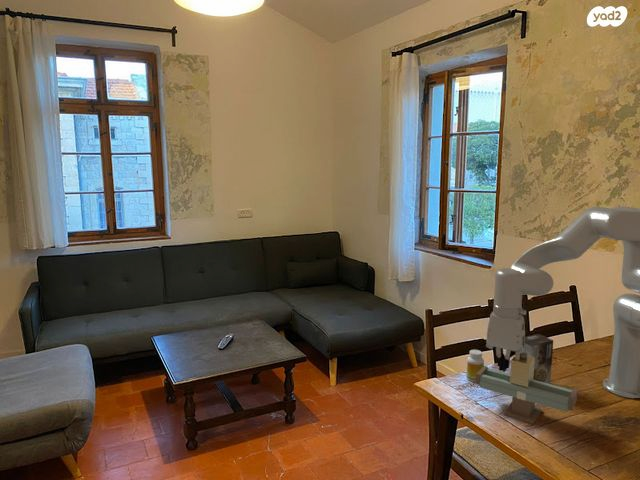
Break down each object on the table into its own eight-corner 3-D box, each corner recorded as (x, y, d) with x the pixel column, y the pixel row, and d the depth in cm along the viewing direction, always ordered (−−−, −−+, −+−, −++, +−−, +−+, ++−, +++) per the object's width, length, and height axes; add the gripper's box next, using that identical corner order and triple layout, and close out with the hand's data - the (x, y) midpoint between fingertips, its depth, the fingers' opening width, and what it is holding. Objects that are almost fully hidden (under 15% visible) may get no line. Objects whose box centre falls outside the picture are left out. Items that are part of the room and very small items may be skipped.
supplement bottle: (483, 383, 161) (485, 355, 159) (467, 381, 162) (468, 354, 160) (481, 375, 166) (483, 349, 164) (465, 374, 167) (466, 348, 165)
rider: (532, 384, 142) (535, 352, 141) (527, 392, 138) (530, 359, 136) (515, 379, 145) (517, 347, 144) (509, 387, 141) (511, 354, 139)
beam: (575, 420, 138) (578, 388, 136) (569, 435, 131) (572, 401, 129) (483, 393, 154) (485, 364, 152) (473, 405, 147) (475, 375, 145)
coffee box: (535, 377, 164) (538, 333, 161) (550, 386, 158) (554, 340, 155) (514, 383, 161) (518, 337, 158) (530, 391, 155) (533, 344, 152)
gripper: (537, 312, 139) (532, 371, 143) (485, 303, 148) (482, 358, 151) (530, 319, 133) (526, 381, 137) (477, 309, 142) (474, 367, 146)
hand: (503, 369), depth 144 cm, fingers closed
